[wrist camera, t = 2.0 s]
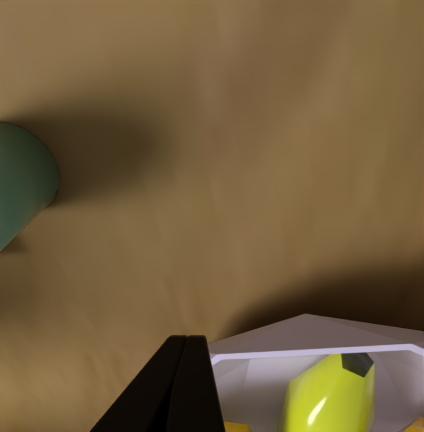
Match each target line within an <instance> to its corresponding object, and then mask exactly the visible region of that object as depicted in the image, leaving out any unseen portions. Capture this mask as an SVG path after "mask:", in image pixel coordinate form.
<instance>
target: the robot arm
mask: <svg viewBox="0 0 424 432" xmlns="http://www.w3.org/2000/svg"><path fill="white" fill-rule="evenodd" d="M90 432H226V429H225V425H224V420H223V415H222V410H221V406H220V401H219V396H218V391H217V387H216V382H215V377H214V373H213V368H212V363H211V358H210V354H209V349H208V344H207V339H206V337H205V336H204V335H189V336H186V335H171V336H170V337H168V338H167V340H166V341H165V342H164V343H163V344H162V346H161V347H160V348H159V349H158V350H157V352H156V353H155V354H154V355H153V356H152V358H151V359H150V360H149V361H148V362H147V364H146V365H145V366H144V367H143V368H142V370H141V371H140V372H139V373H138V374H137V376H136V377H135V378H134V379H133V380H132V382H131V383H130V384H129V385H128V386H127V387H126V389H125V390H124V391H123V392H122V393H121V395H120V396H119V397H118V398H117V399H116V401H115V402H114V403H113V404H112V405H111V407H110V408H109V409H108V410H107V411H106V413H105V414H104V415H103V416H102V417H101V419H100V420H99V421H98V422H97V423H96V425H95V426H94V427H93V428H92V429H91V431H90Z"/></svg>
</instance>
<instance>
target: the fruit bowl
mask: <svg viewBox="0 0 424 432" xmlns="http://www.w3.org/2000/svg"><path fill="white" fill-rule="evenodd" d="M208 349H209V354H210V358H211V363H212V368H213V373H214V377H215V382H216V387H217V391H218V396H219V401H220V406H221V410H222V415H223V420H224V425H225V429H226V432H424V331H419V330H412V329H405V328H398V327H392V326H385V325H378V324H371V323H365V322H358V321H351V320H344V319H338V318H331V317H324V316H317V315H311V314H302V315H299V316H296V317H293V318H290V319H286V320H283V321H280V322H277V323H274V324H270V325H267V326H264V327H261V328H257V329H254V330H251V331H248V332H245V333H241V334H238V335H235V336H232V337H229V338H225V339H222V340H219V341H216V342H212V343H209V344H208Z"/></svg>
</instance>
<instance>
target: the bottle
mask: <svg viewBox="0 0 424 432" xmlns="http://www.w3.org/2000/svg"><path fill="white" fill-rule="evenodd" d="M58 189H59V172H58V168H57V165H56V163H55V160H54V158H53V156H52V155H51V153H50V152H49V150H48V149H47V148H46V146H45V145H44V144H43V143H42V142H41V141H40V140H39V139H38V138H37V137H35V136H34V135H33V134H31V133H30V132H28V131H27V130H25V129H23V128H21V127H19V126H16V125H13V124H9V123H3V122H0V251H1V250H2V249H3V248H4V247H5V246H6V245H7V244H8V243H9V242H10V241H12V240H13V239H14V238H15V237H16V236H17V235H18V234H19V233H20V232H21V231H22V230H23V229H24V228H25V227H26V226H27V225H28V224H29V223H30V222H31V221H32V220H33V219H34V218H35V217H36V216H37V215H38V214H39V213H40V212H41V211H42V210H43V209H44V208H45V207H46V206H47V205H49V204H50V203H51V202H52V200H53V199H54V198H55V196H56V194H57V192H58Z"/></svg>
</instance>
